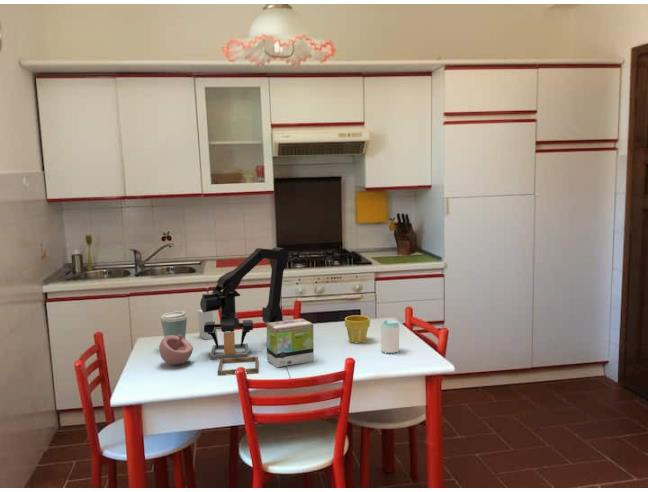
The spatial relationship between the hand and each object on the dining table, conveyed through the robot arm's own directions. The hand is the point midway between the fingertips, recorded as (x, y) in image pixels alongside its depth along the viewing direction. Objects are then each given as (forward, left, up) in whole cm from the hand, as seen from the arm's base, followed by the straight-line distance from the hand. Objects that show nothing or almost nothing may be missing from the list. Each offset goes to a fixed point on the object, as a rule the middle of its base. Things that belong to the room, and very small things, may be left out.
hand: (229, 347), depth 227 cm
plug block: (0, 0, -2) cm, 2 cm away
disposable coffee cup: (+22, -9, -2) cm, 24 cm away
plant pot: (-52, -7, -2) cm, 53 cm away
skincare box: (+11, -24, -2) cm, 27 cm away
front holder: (-4, +18, -2) cm, 19 cm away
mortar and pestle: (+19, +10, -2) cm, 22 cm away
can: (-62, +9, -2) cm, 63 cm away
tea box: (-23, +14, -3) cm, 27 cm away
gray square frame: (0, 0, -2) cm, 2 cm away
